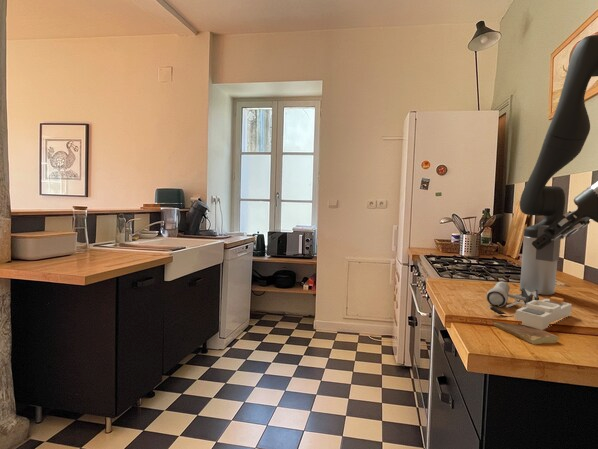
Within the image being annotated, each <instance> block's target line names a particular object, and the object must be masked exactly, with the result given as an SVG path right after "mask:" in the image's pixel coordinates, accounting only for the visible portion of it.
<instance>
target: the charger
mask: <svg viewBox="0 0 598 449" xmlns="http://www.w3.org/2000/svg"><path fill="white" fill-rule="evenodd" d="M547 227H549V226H546V225H544V226H538V235H537V238H539V237H540V236H541V235H543V234H544V232H543V231H544V230H545V229H546V228H547ZM552 232H553V233H554V234H555V233H556V231H555V230H554V229H553V230H552ZM561 241H562V239H561V236H559V237H558V238H556V240H553V241H551V242H550V243H548V244H547V245H546V246H544V247H543V248H541V249H539V250H537V249H536V259H537V260H544V261H551V262H554V261H557V262H558V261H559V260H560V253H561Z"/></svg>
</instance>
